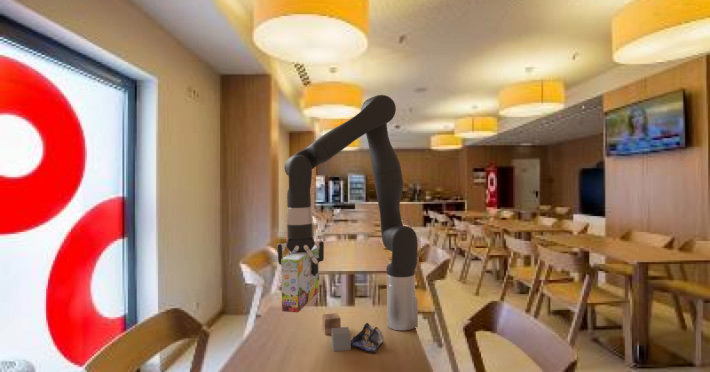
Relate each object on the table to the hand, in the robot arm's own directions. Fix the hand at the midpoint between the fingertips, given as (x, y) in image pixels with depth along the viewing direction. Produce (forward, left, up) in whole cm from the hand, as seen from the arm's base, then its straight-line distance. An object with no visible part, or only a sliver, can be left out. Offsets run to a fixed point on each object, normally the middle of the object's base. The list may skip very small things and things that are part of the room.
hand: (301, 276), depth 131 cm
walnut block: (-10, -6, -20) cm, 23 cm away
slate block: (-10, +7, -20) cm, 24 cm away
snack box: (0, 0, -8) cm, 8 cm away
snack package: (-19, +8, -20) cm, 29 cm away
